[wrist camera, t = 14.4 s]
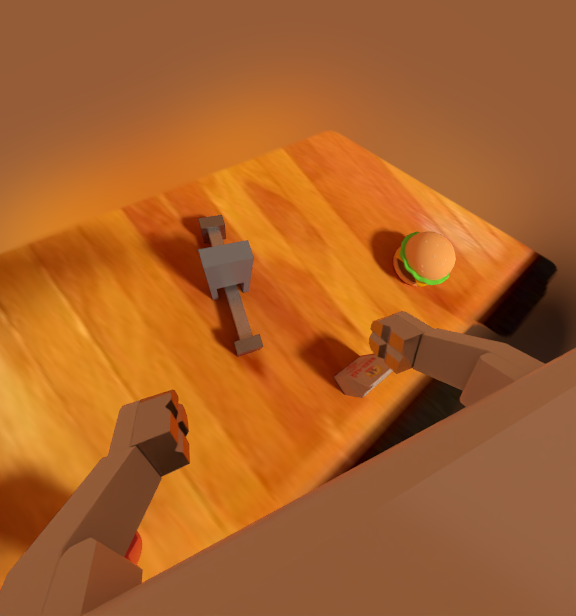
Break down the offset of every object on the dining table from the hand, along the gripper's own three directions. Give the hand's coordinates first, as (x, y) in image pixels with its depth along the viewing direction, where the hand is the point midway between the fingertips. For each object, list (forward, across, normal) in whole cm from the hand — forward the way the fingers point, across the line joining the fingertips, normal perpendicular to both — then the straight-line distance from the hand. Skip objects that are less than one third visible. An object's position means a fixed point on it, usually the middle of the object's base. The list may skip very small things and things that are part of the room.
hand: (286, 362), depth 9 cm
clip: (+33, -1, +12) cm, 35 cm away
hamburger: (+30, -41, +15) cm, 53 cm away
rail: (+33, -1, +12) cm, 35 cm away
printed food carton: (+18, -18, +27) cm, 37 cm away
